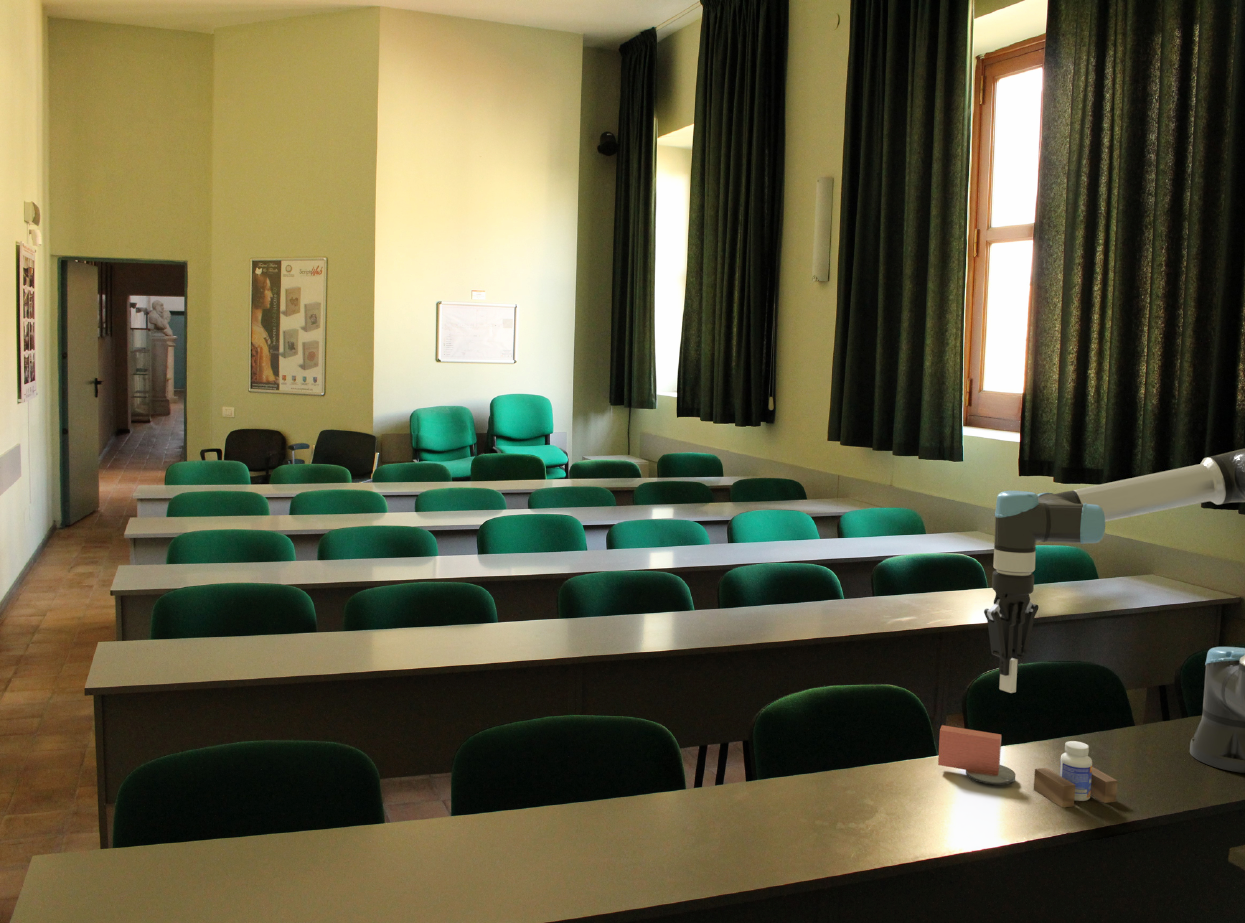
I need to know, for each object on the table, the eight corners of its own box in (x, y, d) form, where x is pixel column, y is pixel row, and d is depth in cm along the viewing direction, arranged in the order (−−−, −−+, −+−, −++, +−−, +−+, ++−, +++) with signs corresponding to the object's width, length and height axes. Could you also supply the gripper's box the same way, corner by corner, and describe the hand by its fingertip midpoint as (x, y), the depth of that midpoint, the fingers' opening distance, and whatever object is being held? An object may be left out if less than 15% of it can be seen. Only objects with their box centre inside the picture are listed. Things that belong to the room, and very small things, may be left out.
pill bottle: (1095, 802, 188) (1098, 750, 187) (1065, 801, 188) (1068, 749, 187) (1082, 789, 193) (1086, 739, 192) (1053, 789, 193) (1056, 738, 192)
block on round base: (942, 758, 205) (944, 720, 205) (1016, 771, 200) (1019, 732, 199) (935, 774, 197) (937, 734, 196) (1013, 788, 191) (1015, 747, 191)
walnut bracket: (1085, 784, 196) (1087, 763, 196) (1115, 801, 188) (1117, 780, 188) (1033, 789, 193) (1034, 768, 193) (1062, 807, 185) (1063, 786, 185)
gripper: (1020, 564, 205) (1014, 680, 207) (974, 570, 198) (968, 689, 201) (1052, 571, 198) (1046, 691, 201) (1006, 578, 192) (1000, 701, 194)
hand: (1007, 690), depth 201 cm, fingers closed
